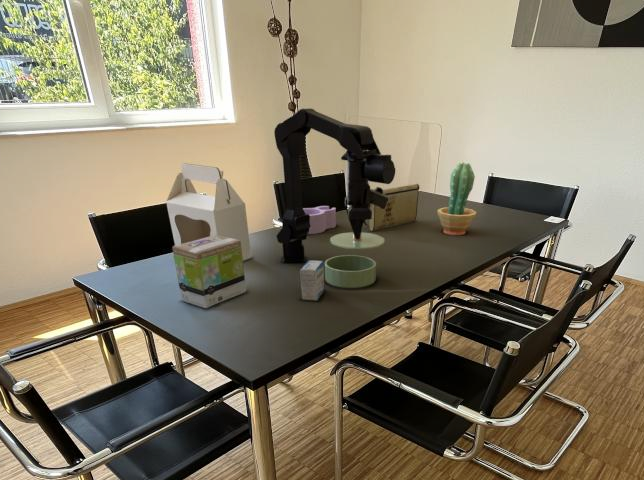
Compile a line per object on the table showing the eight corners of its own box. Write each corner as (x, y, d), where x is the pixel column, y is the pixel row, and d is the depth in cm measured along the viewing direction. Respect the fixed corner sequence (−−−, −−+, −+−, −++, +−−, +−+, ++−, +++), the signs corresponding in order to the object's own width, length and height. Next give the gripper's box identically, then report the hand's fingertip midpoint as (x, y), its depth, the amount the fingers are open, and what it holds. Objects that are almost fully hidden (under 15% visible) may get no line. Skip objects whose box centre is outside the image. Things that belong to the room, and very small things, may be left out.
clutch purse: (407, 218, 207) (409, 181, 199) (419, 221, 203) (422, 183, 194) (357, 229, 190) (358, 189, 182) (369, 233, 186) (370, 192, 178)
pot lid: (331, 251, 131) (330, 233, 128) (329, 236, 144) (328, 218, 141) (387, 251, 132) (388, 232, 129) (380, 235, 145) (381, 218, 142)
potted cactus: (479, 230, 191) (490, 162, 177) (465, 239, 180) (475, 167, 166) (444, 225, 198) (451, 159, 184) (428, 233, 187) (435, 163, 173)
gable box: (252, 258, 158) (241, 166, 142) (223, 268, 149) (208, 171, 133) (206, 247, 168) (191, 159, 152) (176, 256, 158) (157, 164, 143)
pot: (325, 289, 135) (325, 271, 132) (324, 271, 147) (324, 255, 145) (377, 289, 136) (378, 271, 133) (372, 271, 148) (373, 254, 146)
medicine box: (317, 301, 128) (316, 270, 123) (301, 300, 128) (299, 268, 123) (324, 290, 134) (323, 260, 129) (309, 289, 135) (308, 259, 130)
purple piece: (321, 221, 200) (321, 204, 196) (342, 227, 193) (342, 209, 189) (285, 230, 188) (284, 212, 184) (306, 236, 181) (305, 217, 177)
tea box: (207, 309, 122) (197, 252, 114) (181, 301, 126) (169, 246, 118) (247, 292, 133) (241, 238, 124) (222, 285, 137) (214, 233, 129)
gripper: (392, 186, 121) (388, 247, 130) (382, 174, 136) (380, 229, 145) (349, 185, 120) (348, 247, 129) (344, 173, 136) (344, 229, 144)
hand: (357, 237), depth 137 cm, fingers closed on pot lid, 2 cm apart
